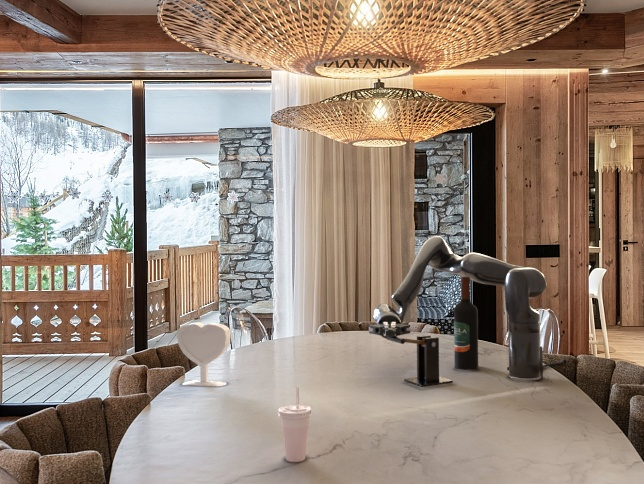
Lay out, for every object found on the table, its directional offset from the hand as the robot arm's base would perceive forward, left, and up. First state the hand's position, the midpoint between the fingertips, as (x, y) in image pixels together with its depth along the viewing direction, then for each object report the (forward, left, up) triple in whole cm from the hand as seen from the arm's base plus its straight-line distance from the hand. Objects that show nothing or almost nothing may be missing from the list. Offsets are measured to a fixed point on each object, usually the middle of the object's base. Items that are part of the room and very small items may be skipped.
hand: (390, 333), depth 171 cm
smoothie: (+44, +37, -16) cm, 60 cm away
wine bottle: (-35, -10, -16) cm, 40 cm away
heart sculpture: (+44, -34, -16) cm, 58 cm away
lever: (-7, 0, -4) cm, 8 cm away
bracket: (-13, 0, -16) cm, 20 cm away
